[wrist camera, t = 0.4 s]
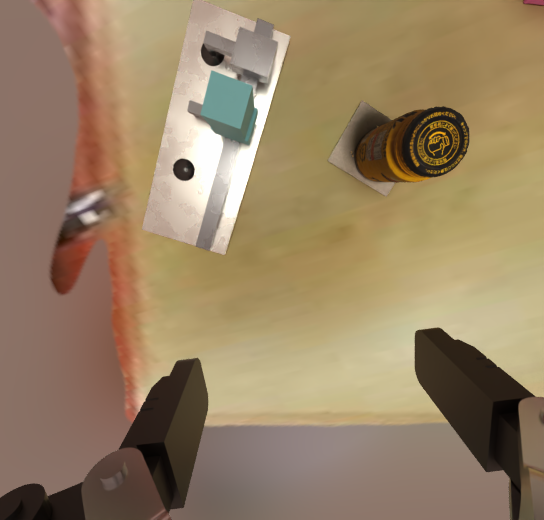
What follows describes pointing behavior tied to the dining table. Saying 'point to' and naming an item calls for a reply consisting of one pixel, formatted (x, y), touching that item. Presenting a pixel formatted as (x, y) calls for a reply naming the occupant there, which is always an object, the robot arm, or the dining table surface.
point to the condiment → (401, 146)
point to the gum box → (534, 2)
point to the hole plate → (200, 138)
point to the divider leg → (228, 108)
